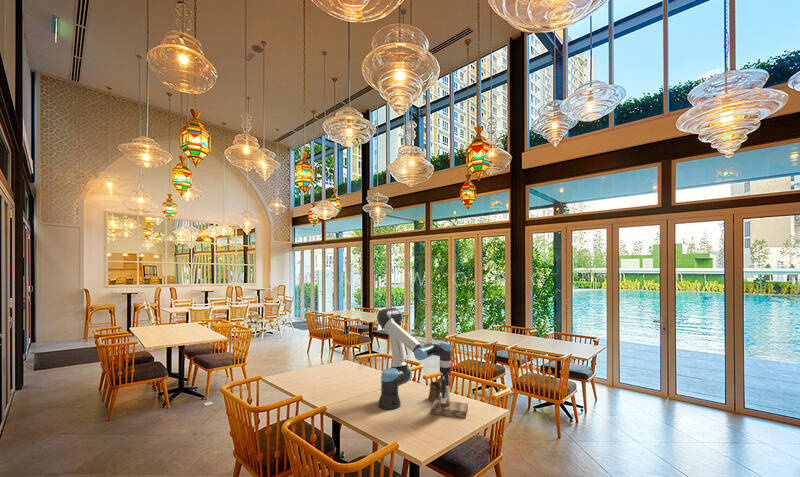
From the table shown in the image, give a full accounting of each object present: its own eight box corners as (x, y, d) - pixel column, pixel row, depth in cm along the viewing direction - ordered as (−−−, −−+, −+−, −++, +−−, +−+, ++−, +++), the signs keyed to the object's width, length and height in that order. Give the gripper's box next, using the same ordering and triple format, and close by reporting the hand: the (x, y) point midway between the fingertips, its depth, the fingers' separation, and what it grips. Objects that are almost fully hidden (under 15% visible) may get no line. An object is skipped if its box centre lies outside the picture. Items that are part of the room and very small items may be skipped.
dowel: (440, 411, 231) (440, 387, 232) (441, 408, 237) (441, 385, 238) (449, 412, 230) (449, 388, 231) (450, 409, 235) (450, 386, 236)
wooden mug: (437, 404, 245) (437, 377, 246) (425, 398, 256) (426, 372, 258) (447, 401, 250) (447, 375, 251) (435, 395, 261) (435, 370, 262)
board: (431, 413, 229) (431, 407, 229) (435, 405, 242) (435, 399, 242) (465, 418, 223) (465, 411, 223) (467, 409, 236) (467, 403, 236)
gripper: (448, 372, 223) (448, 407, 221) (453, 361, 246) (453, 393, 245) (436, 371, 225) (436, 405, 223) (442, 361, 248) (442, 392, 247)
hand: (445, 399), depth 234 cm, fingers open, 13 cm apart
